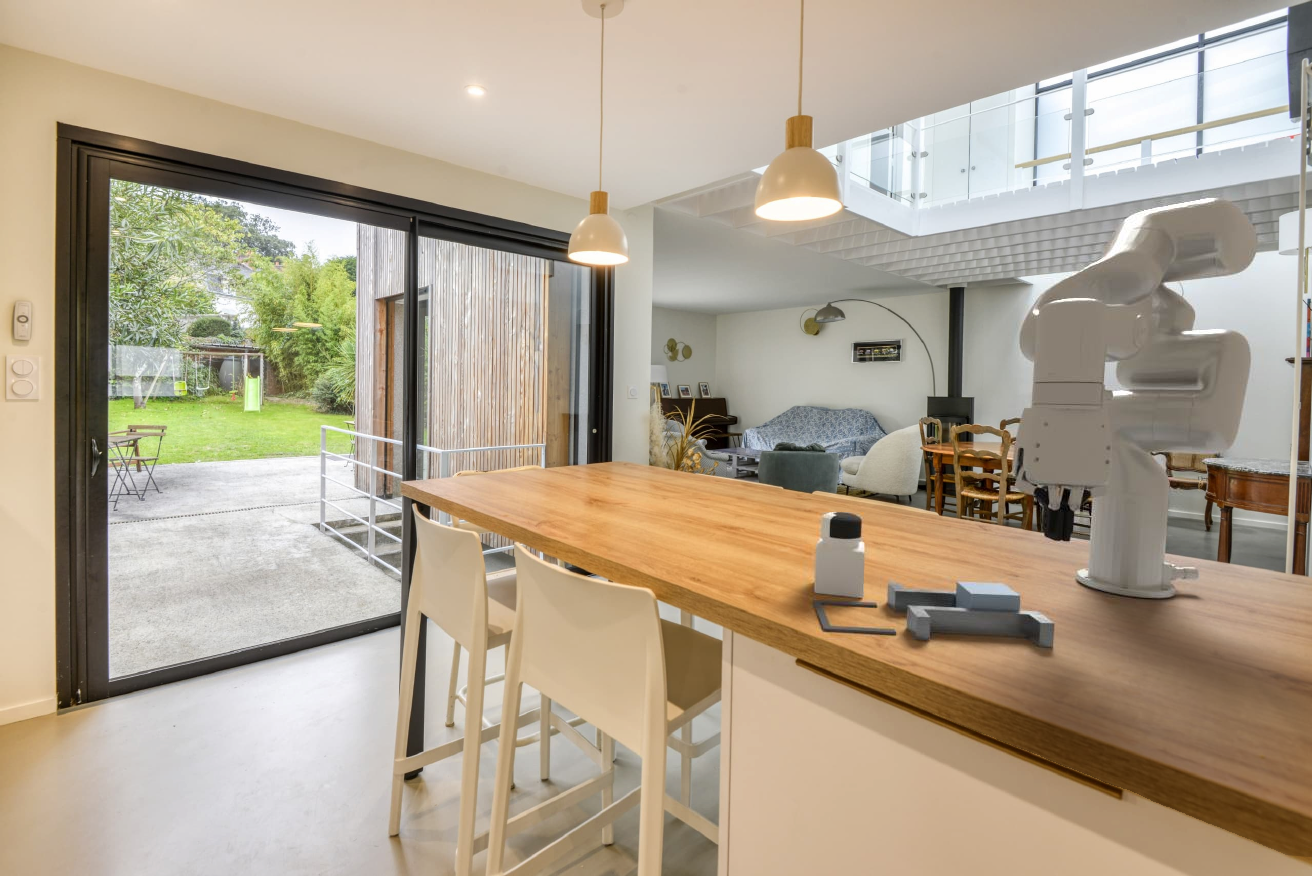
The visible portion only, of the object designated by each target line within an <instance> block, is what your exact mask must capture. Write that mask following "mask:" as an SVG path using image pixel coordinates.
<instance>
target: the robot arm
mask: <svg viewBox="0 0 1312 876" xmlns="http://www.w3.org/2000/svg"><path fill="white" fill-rule="evenodd" d="M1257 237H1258V236H1257V232H1256V229H1255V227H1254V225H1253V222H1252V221H1251V220H1250V219H1249V218H1248V217H1247V216H1246V215H1245V213H1244V212H1243V210H1241V208H1240V207H1239V206H1238V205H1236V204H1235V203H1233V202H1232V201H1230V200H1227V199H1224V198H1218V197H1217V198H1216V197H1213V198H1212V197H1211V198H1205V199H1200V200H1195V201H1194V200H1193V201H1188V202H1182V203H1177V204H1172V205H1168V206H1163V207H1155V208H1152V209H1148V210H1146V209H1145V210H1144V211H1139V212H1137V213H1135V214H1132V215H1131V216H1129V217H1127V218H1126V219H1124V220H1123V221H1122V222H1121V223H1120V224H1119V225H1118V226H1117V228H1116V229H1115V231H1114V232H1113V234H1112V236H1111V237H1110V238H1109V240H1108V242H1107V243H1106V245H1105V247H1104V249H1103V250H1102V252H1101V253H1100V255H1099V256H1098V258H1097V260H1096V262H1094V263H1092V264H1090V265H1088V266H1086V267H1084V268H1082V269H1080V270H1078V271H1077V272H1075V273H1073V274H1071V275H1069V276H1068V277H1066V278H1064V279H1062V280H1060V281H1058V282H1056V283H1055V284H1053V285H1052V286H1050V287H1049V288H1048V289H1046V290H1045V291H1044V292H1042V293H1041V294H1040V295H1039V297H1037V299H1036V301H1034V303H1033V305H1032V307H1031V308H1030V309H1029V311H1028V313H1027V314H1026V316H1025V319H1024V320H1023V322H1022V324H1021V328H1020V331H1019V337H1018V339H1019V340H1018V341H1019V349H1020V351H1021V353H1022V355H1023V356H1024V358H1025V359H1026V360H1028V361H1030V362H1032V363H1033V375H1032V388H1031V389H1032V391H1031V392H1032V393H1031V405H1030V406H1031V407H1024V408H1023V411H1022V413H1021V418H1020V419H1019V425H1018V427H1017V433H1016V437H1015V443H1014V448H1013V457H1012V462H1011V463H1012V464H1011V465H1012V467H1011V475H1012V476H1013V478H1014V479H1015V480H1016V481H1015V483H1014V486H1013V489H1014V490H1015V491H1017V492H1019V493H1024V494H1026V495H1030V496H1032V497H1033V498H1034V499H1035V500H1036V501H1037V502H1038V504H1039V505H1040V506H1041V507H1043V508H1042V509H1043V510H1042V524H1041V529H1042V532H1043V534H1044V537H1045V538H1047V539H1050V540H1052V541H1055V542H1066V543H1067V542H1070V541H1071V537H1072V536H1071V535H1072V534H1073V532H1074V525H1075V512H1077V511H1078V510H1080V508H1081V505H1083V504H1084V503H1085V502H1086V501H1087V500H1089V499H1092V501H1091V502H1092V503H1091V505H1092V506H1091V517H1090V518H1091V519H1090V520H1091V521H1090V535H1089V536H1090V537H1089V552H1088V553H1089V554H1088V567H1086V568H1082V569H1079V570H1077V571H1076V577H1075V578H1076V580H1077V581H1078V582H1080V583H1081V584H1083V585H1085V586H1087V587H1090V588H1092V589H1095V590H1098V591H1102V592H1107V593H1111V594H1116V595H1120V596H1127V597H1133V598H1134V597H1135V598H1142V599H1144V598H1145V599H1167V598H1172V597H1174V596H1175V595H1176V588H1177V587H1176V586H1175V585H1174V584H1173V583H1171V582H1174V581H1176V580H1177V579H1181V580H1192V581H1196V580H1198V578H1199V577H1200V576H1199V575H1200V574H1199V571H1198V569H1197V567H1194V566H1193V567H1192V566H1191V567H1190V566H1179V567H1178V566H1177V565H1176V564H1172V563H1170V562H1167V561H1166V560H1165V557H1166V544H1167V543H1166V542H1167V528H1168V516H1169V502H1170V489H1171V487H1170V486H1171V483H1170V479H1169V476H1168V473H1166V471H1165V469H1164V468H1163V467H1162V466H1161V464H1160V463H1159V461H1157V459H1156V458H1155V457H1154V456H1153V455H1152V453H1160V452H1161V453H1162V452H1163V453H1174V454H1175V453H1178V454H1192V455H1217V454H1221V453H1224V452H1227V450H1229V449H1231V447H1232V446H1233V445H1234V443H1235V441H1236V438H1237V435H1238V433H1239V427H1240V424H1241V418H1242V414H1243V409H1244V403H1245V398H1246V393H1247V389H1248V388H1247V387H1248V384H1249V383H1248V382H1249V379H1250V377H1249V376H1250V373H1251V365H1252V362H1251V360H1252V354H1251V348H1250V344H1249V342H1248V340H1247V338H1246V336H1244V335H1243V334H1242V333H1240V332H1238V331H1235V330H1231V329H1204V330H1203V329H1201V330H1193V328H1194V323H1195V321H1196V311H1195V309H1194V308H1193V306H1192V305H1191V304H1190V303H1189V302H1188V301H1187V299H1185V297H1183V296H1181V294H1179V293H1178V292H1176V291H1174V290H1172V289H1170V288H1169V287H1167V286H1166V285H1165V283H1173V282H1174V283H1175V282H1183V281H1184V282H1185V281H1190V280H1191V281H1193V280H1201V279H1212V278H1219V277H1227V276H1232V275H1237V274H1239V273H1241V272H1243V271H1245V270H1246V269H1247V268H1249V266H1250V265H1251V264H1252V263H1253V261H1254V259H1255V257H1256V255H1257V254H1256V253H1257V250H1258V249H1257V248H1258V238H1257ZM1112 362H1113V363H1116V366H1115V367H1116V368H1115V375H1116V379H1117V382H1118V384H1119V385H1121V386H1122V387H1123V388H1125V389H1120V390H1115V391H1113V390H1111V389H1110V390H1109V389H1106V385H1105V370H1106V363H1112ZM1033 484H1034V485H1033ZM1035 485H1036V486H1035ZM1059 487H1061V489H1059Z"/></svg>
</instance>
